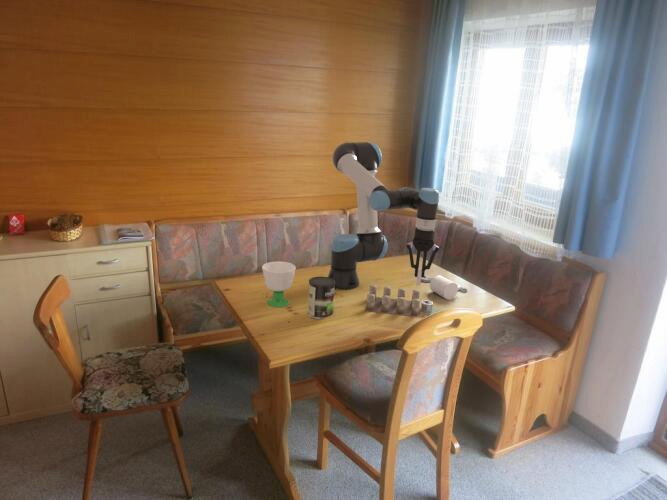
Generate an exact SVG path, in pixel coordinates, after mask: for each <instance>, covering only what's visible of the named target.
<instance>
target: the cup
mask: <svg viewBox="0 0 667 500" xmlns="http://www.w3.org/2000/svg"><path fill="white" fill-rule="evenodd" d="M261 267H262V273H263V278H264V283H265V287H266V288H267V289H268V290H270V291H272V292H273V293H272V297H273V298H271V299H270V298H269V299H268V301H267V304H268V305H269V306H270V307H272V308H284V307H286V306H288V305H289V304H290V301H289V300H288V299H287V298H284V297H285V293H284V292H285V291H288V290H289V289H290V288H291V286H292V285H293V281H294V279H295V278H294V277H295V272H296V269H297V267H296V265H295V264H294V263H292V262H287V261H278V260H277V261H269V262H266V263H264V264H263V265H261Z"/></svg>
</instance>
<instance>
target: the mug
mask: <svg viewBox="0 0 667 500" xmlns="http://www.w3.org/2000/svg"><path fill="white" fill-rule="evenodd" d="M432 278H433V279H432V280H431V282H429V289H430V291H431V292H433V293H435V294H436V295H438V296H440V297H441V298H444V300H446V301H447V300H453V299H454V298H455V297H456V296H457V294H458V290H459V289H460V287H461V285H460V284H459V283H456V282H453V281H451V280H450V279H448V278H446V277H444V276H442V275H440V274H439V275H435V276H433V277H432Z"/></svg>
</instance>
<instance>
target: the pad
mask: <svg viewBox="0 0 667 500" xmlns="http://www.w3.org/2000/svg"><path fill="white" fill-rule="evenodd" d="M439 311H441V308H440V307H432V312H429V313H426V314H427V317H429V316H428V315H431V314H434V313H436V312H439ZM441 312H442V311H441Z"/></svg>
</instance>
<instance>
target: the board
mask: <svg viewBox="0 0 667 500" xmlns="http://www.w3.org/2000/svg"><path fill="white" fill-rule="evenodd" d="M377 288H378V286H377V285H376V284H370V285H369V292H368V294H367V299H366V305H365V308H364V312H367V313H376V314H385V315H395V316H403V317H411V318H421V300H420V294H421V291H420V290H419V289H416V288H415V289H412V296H411V300H407V299H406V288H403V287H398V289H397V298H391V296H392V295H391V293H392V287H390V286H388V285H386V286H384V287H383V294H382V297H379V296H377V292H378V289H377Z"/></svg>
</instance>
